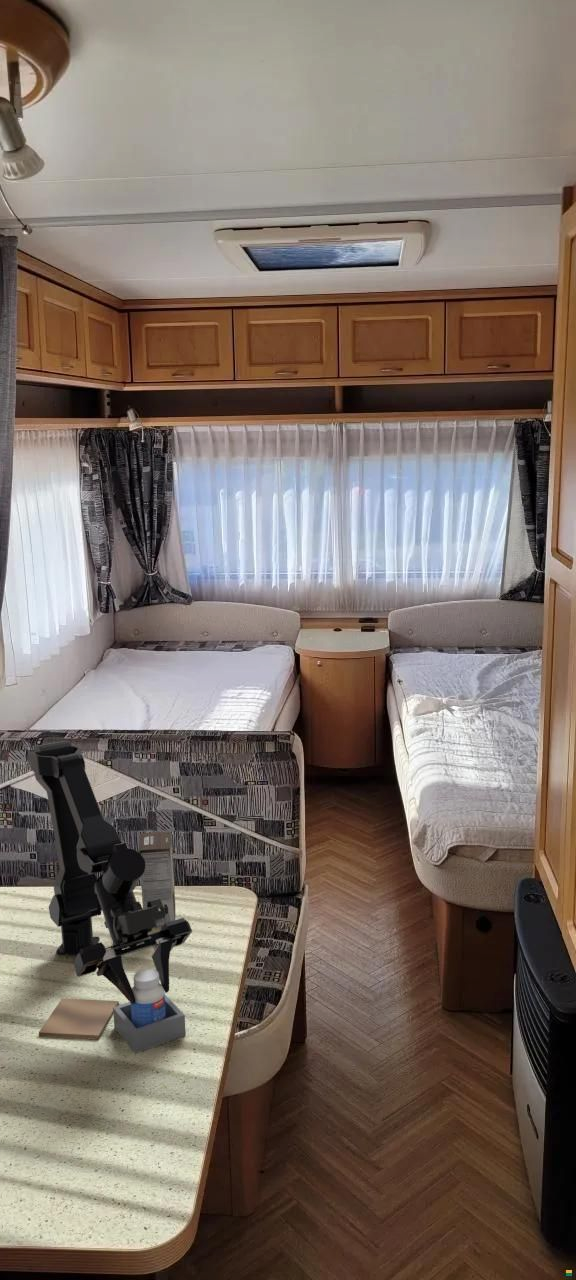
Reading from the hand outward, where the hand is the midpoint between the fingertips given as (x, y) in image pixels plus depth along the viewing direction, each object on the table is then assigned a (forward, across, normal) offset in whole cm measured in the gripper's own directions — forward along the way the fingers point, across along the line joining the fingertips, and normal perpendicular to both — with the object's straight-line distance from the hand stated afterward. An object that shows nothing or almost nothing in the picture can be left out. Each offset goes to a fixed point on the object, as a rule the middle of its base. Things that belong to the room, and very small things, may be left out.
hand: (150, 997), depth 153 cm
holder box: (+4, 0, +6) cm, 7 cm away
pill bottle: (+4, 0, +6) cm, 7 cm away
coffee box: (-22, +18, +32) cm, 43 cm away
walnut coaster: (-3, -8, +12) cm, 15 cm away
